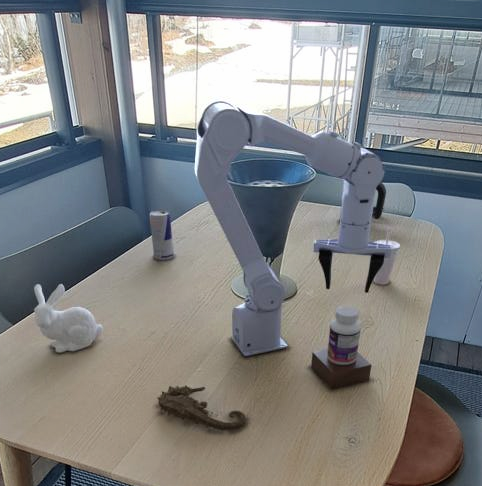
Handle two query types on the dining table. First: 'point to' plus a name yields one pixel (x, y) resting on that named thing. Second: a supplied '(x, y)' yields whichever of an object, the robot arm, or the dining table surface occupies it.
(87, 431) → the dining table surface
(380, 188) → the milk frother
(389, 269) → the smoothie
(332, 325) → the pill bottle
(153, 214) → the energy drink
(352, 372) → the walnut block
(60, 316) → the rabbit
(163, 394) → the seahorse
